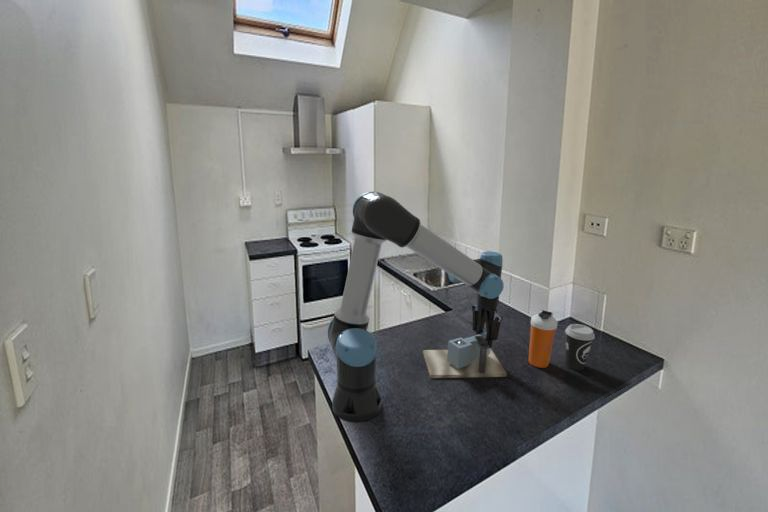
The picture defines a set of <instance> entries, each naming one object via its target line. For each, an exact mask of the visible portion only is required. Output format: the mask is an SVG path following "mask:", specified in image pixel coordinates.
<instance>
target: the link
mask: <svg viewBox="0 0 768 512" xmlns="http://www.w3.org/2000/svg"><path fill="white" fill-rule="evenodd" d="M475 336H483V337H484V339H487V337H486V332H484V331H483V333H481V334H478V335H476V334H475V335H472V336H469V337H465V338H463V337H457V338H454V339H451V340H448V341H447V350H448V352H447V361H448V362H449V363H451V364H452V365H453V366H455V367H456V368H457V369H459V368H462V367H464V366H467V365H470V364H471V361H473V360H476V359H478V358H480V347H479V345H478V344H477V342H476V340H475ZM458 341H463V342H464V343H463V345H462V346H459V345H458ZM489 355H490V354H489Z"/></svg>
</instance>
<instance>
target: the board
mask: <svg viewBox="0 0 768 512" xmlns="http://www.w3.org/2000/svg"><path fill="white" fill-rule="evenodd" d="M447 352H448V349H424V350H422V354H423V357H424V361H425V364H426V368H427V371H428V375H429V378H430V379H448V378H449V379H452V378H453V379H455V378H456V379H457V378H459V379H460V378H461V379H463V378H502V377H503V378H504V377H506V378H507V375H508V374H507V372H506V370H505V369H504V367H503V365H502V363H501V362H500V360H499V359H498V358H497V356H496V355H495V352H494V351H493V349H492V348H490V355H487V357H486V368H485V373H480V372H479V358H478V359H476V360H473V361H471V364H470V365H467V366H464V367H462V368H459V369H457V368H456V367H455V366H453V365H452V364H451V363H449V362H448V361H447Z"/></svg>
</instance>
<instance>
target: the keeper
mask: <svg viewBox="0 0 768 512" xmlns="http://www.w3.org/2000/svg"><path fill="white" fill-rule="evenodd" d="M474 336H475V335H474ZM475 340H476V342H477V344H478V345H479V347H480V358H479V372H480V373H485V368H486V357H487V349H489V345H488V343H487V342H486V340H485V339H484V337H483V336H475Z"/></svg>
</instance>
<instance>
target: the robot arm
mask: <svg viewBox="0 0 768 512" xmlns="http://www.w3.org/2000/svg"><path fill="white" fill-rule="evenodd" d="M352 216H353V221H352V227H351V234H352V235H353V237H354V240H353V247H352V249H351V256H350V261H349V266H348V269H347V270H348V271H347V275H346V280H345V285H344V290H343V293H342V299H341V303H340V308H337V309H336V310H335V311H334V314H333V318H332V319H331V321H330V322H329V324H328V328H327V338H328V341H329V343H330V346H331V348H332V351H333V352H332V353H333V354H334V358H335V362H336V371H337V372H336V374H337V375H336V377H337V379H336V380H337V385H336V388H335V390H334V394H333V397H332V402H331V403H332V405H331V406H332V411H333V413H334V415H335V416H336V417H337V418H339V419H340V420H342V421H345V422H349V423H363V422H366V421H370V420H372V419H373V418H375V417H376V416H377V415H378V414H379V413H380V412H381V410H382V404H383V403H382V395H381V393H380V390H379V387H378V384H377V352H378V350H377V349H378V348H377V341H376V338H375V337H374V335H373V334H372V333H371V332H370V331H369V330H368V327H369V324H370V323H369V322H370V317H369V316H368V314H367V310H368V306H369V302H370V297H371V293H372V288H373V285H374V280H375V276H376V270H377V266H378V262H379V258H380V253H381V249H382V244H384V243H385V242H386V241H389V242H391V243H392V244H394V245H396V246H398V247H399V248H402V249H403V248H407V249H409V250H410V251H412V252H413V253H415V254H417V255H418V256H420V257H421V258H423V259H425V260H426V261H428V262H430V263H431V264H433V265H434V266H436V267H437V268H439V269H441V271H444V272H445V273H447V277H448V278H449V279H448V280H449V281H450V282H451V283H453V284H455V283H457V284H460V283H462V284H464V285H466V286H467V287H469V288H470V289H472V290H473V291H475V292H476V293H477V295H476V296H477V297H476V304H475V305H471V310H472V331H473V332H475V335H478V334H481V333H484V328H485V330H486V337H487V339H485V340H486V342H487V343H488V345H489V349H487V355H489V354H490V349H492V347H493V341H497V340H498V339H499V333H500V327H501V322H502V321H503V319H504V318H503V316H502V315H500V314H498V309H497V307H498V306H499V301H500V295H501V294H502V292H503V291H504V287H505V285H504V280H503V279H502V271H503V267H504V266H503V261H504V260H503V254H501V253H500V252H496V251H491V250H490V251H489V250H488V251H482V252H481V254H480V256H479V258H477V259H473V258H470V257H469V256H468V255H466V254H465V253H463V252H462V251H460V250H459V249H457V248H456V247H455V246H453V245H452V244H450V243H449V242H447V241H445V240H444V239H443V238H441V237H440V236H438V234H435V232H432V231H431V230H430V229H428V228H427V227H425V226H424V225H423V224H422V223H421V220H420V218H418V217H417V216H416V215H414V214H413V213H412V212H410V211H409V210H408V209H407V208H405V207H404V206H403V205H402V203H400V202H398V201H397V200H396V199H395V198H393V197H391V196H389V195H386V194H384V193H382V192H379V191H367V192H364V193H362V194H360V195H359V196H358V197H357V198H356V199H355V201H354V203H353V206H352Z"/></svg>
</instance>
